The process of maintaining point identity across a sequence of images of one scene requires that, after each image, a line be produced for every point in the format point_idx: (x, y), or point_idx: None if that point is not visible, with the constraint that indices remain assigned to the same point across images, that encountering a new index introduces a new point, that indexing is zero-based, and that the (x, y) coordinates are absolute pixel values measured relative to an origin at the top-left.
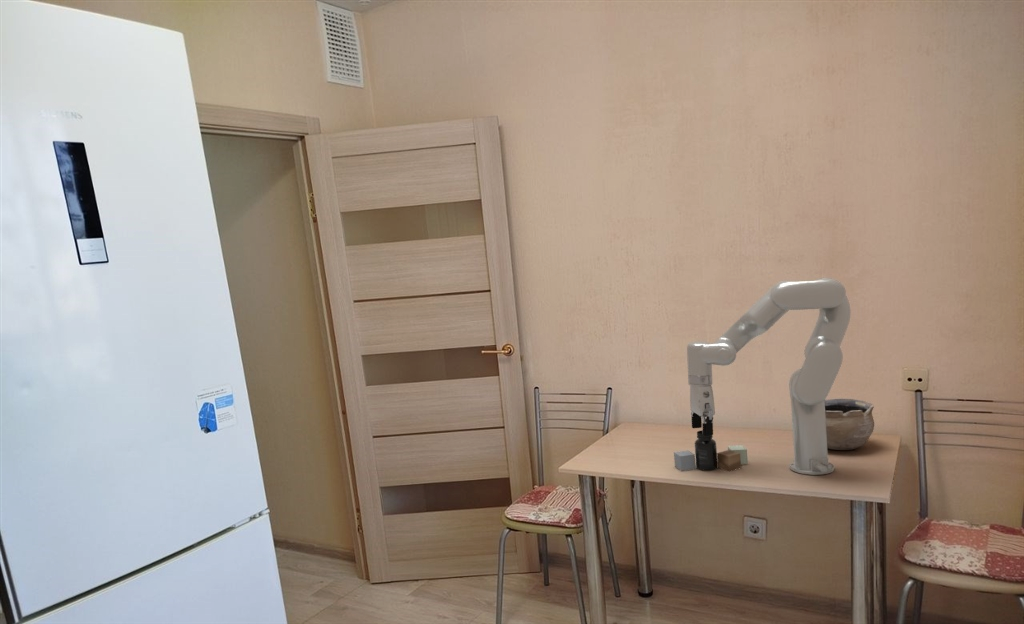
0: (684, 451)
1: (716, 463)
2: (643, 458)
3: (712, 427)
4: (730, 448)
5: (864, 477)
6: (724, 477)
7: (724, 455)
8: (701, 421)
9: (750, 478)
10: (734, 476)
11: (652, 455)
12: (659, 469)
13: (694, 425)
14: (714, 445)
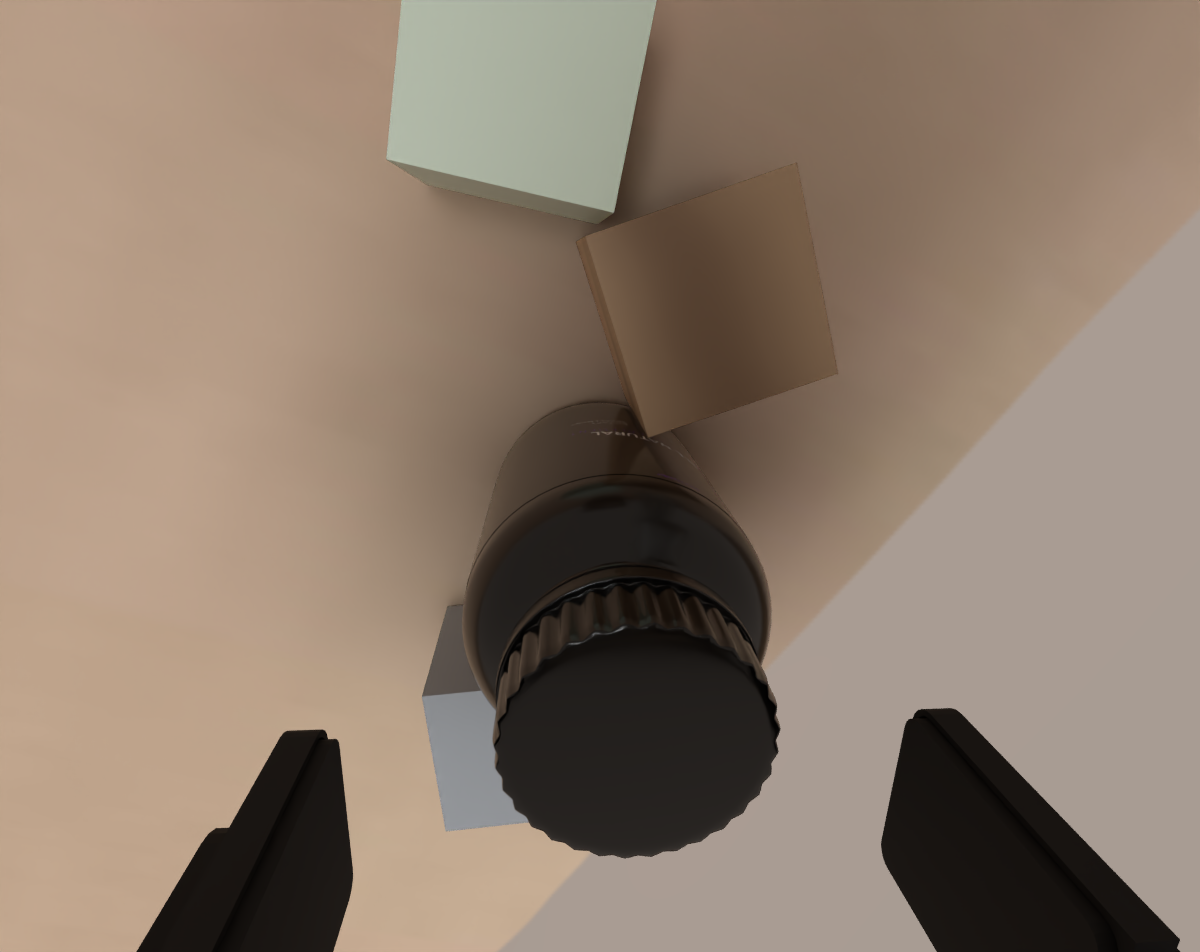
0: (452, 738)
1: (685, 448)
2: (151, 877)
3: (1064, 832)
4: (526, 179)
5: None
6: (899, 457)
7: (773, 394)
8: (266, 836)
9: (1040, 254)
10: (920, 366)
11: (67, 801)
12: (493, 833)
13: (332, 908)
14: (747, 538)
